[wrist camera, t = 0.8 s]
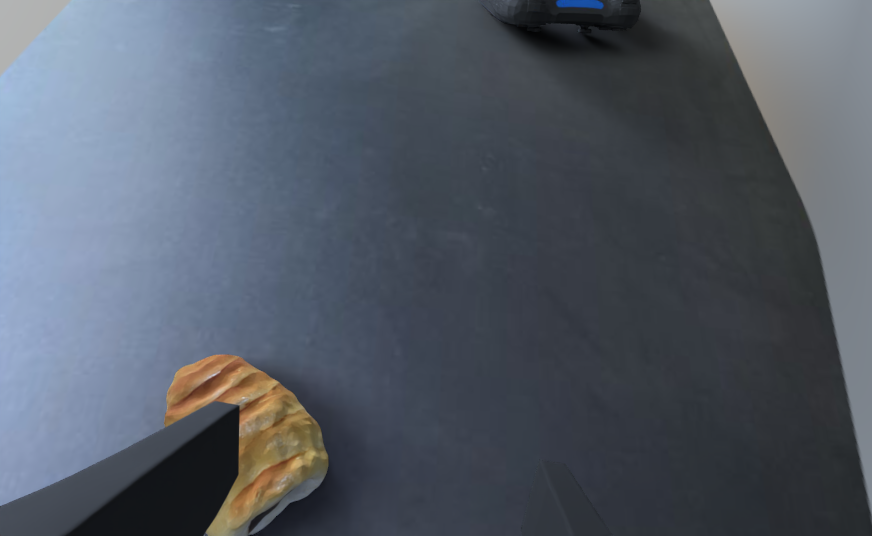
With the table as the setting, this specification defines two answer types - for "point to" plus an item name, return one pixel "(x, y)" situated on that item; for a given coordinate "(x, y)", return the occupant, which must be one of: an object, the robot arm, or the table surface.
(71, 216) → the table surface
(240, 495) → the pastry
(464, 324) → the table surface
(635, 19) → the gaming controller
